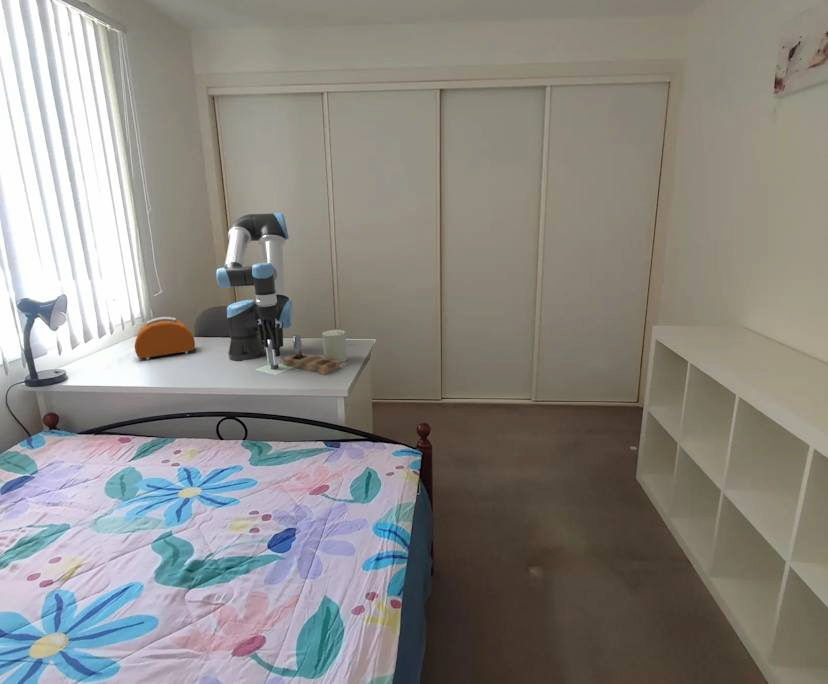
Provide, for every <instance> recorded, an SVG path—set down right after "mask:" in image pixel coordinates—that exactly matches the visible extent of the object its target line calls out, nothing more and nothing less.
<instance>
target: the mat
mask: <svg viewBox="0 0 828 684" xmlns="http://www.w3.org/2000/svg"><path fill="white" fill-rule="evenodd" d="M278 366H279V368H278V369H276V370H272V369H271V366H270V364H267V365H264V366H262V367H261V366H260V367H259V368H255V369H254V371H257V372H262V373H264V374H265V373H266V374H269V375H274V376H277V375H279V374H282V373H284V372H286V371H289V370H291V369H295V368H294V367H290V366H285V365H283V363H280V364H278Z"/></svg>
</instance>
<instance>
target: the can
mask: <svg viewBox="0 0 828 684" xmlns="http://www.w3.org/2000/svg"><path fill="white" fill-rule="evenodd" d="M321 334H322V335H321V336H322V346H323V352H324V353H323V355H324V356H323V357H324V358H329V359H334V360H339V361H340V363H341V362H346V361H347V360H348V357H347V356H348V355H347V346H346V345H347V344H346V331H345V330H343V329H331V330H330V329H329V330H326V331H323V332H322V333H321Z"/></svg>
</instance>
